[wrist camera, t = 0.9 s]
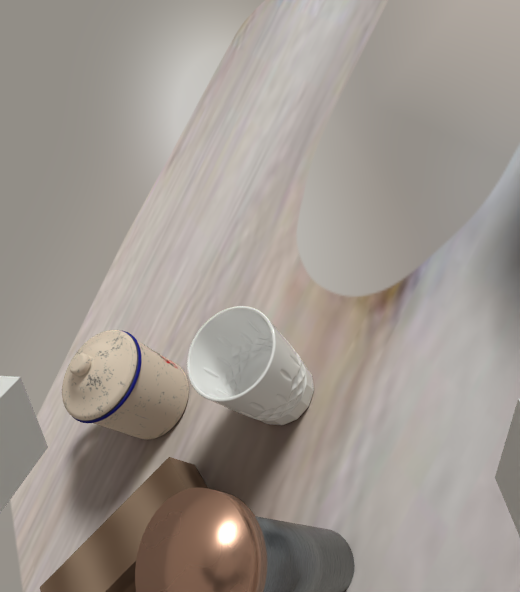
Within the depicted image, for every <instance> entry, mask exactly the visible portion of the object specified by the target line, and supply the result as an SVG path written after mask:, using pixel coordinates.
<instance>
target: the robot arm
mask: <svg viewBox="0 0 520 592" xmlns="http://www.w3.org/2000/svg"><path fill="white" fill-rule="evenodd" d="M47 448H48V446H47V443H46V441H45V438H44V436H43V433H42V430H41V428H40V425H39V423H38V420H37V418H36V415H35V413H34V410H33V407H32V405H31V402H30V400H29V397H28V395H27V392H26V389H25V387H24V384H23V382H22V379H21V377H13V376H0V513H1V511H2V510H3V509H4V507H5V506H6V505H7V503H8V502H9V500H10V499H11V498H12V496H13V495H14V493H15V492H16V491H17V489H18V488H19V487H20V485H21V484H22V482H23V481H24V480H25V478H26V477H27V475H28V474H29V473H30V471H31V470H32V468H33V467H34V466H35V464H36V463H37V462H38V460H39V459H40V457H41V456H42V455H43V453H44V452H45V450H46V449H47ZM495 479H496V481H497V483H498V486H499V488H500V491H501V493H502V495H503V498H504V500H505V502H506V505H507V507H508V510H509V512H510V514H511V517H512V519H513V522H514V524H515V526H516V529H517V531H518V534H519V536H520V399H518V402H517V405H516V409H515V412H514V415H513V419H512V422H511V425H510V429H509V432H508V436H507V439H506V442H505V446H504V449H503V452H502V456H501V459H500V463H499V466H498V469H497V473H496V476H495Z"/></svg>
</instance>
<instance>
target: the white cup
mask: <svg viewBox="0 0 520 592" xmlns="http://www.w3.org/2000/svg"><path fill="white" fill-rule="evenodd" d="M187 372H188V377H189V380H190V382H191V384H192V386H193V388H194V389H195V390H196V391H197V392H198V393H199V394H200V395H201V396H203V397H204V398H206V399H209V400H211V401H213V402H215V403H218V404H220V405H222V406H224V407H227V408H229V409H231V410H233V411H235V412H238V413H240V414H243V415H246V416H248V417H250V418H253V419H257V420H260V421H262V422H264V423H266V424H272V425H285V424H287V423H289V422H292V421H294V420H296V419H298V418H299V417H300V416H301V414H302V413H303V412H304V411H305V410H306V409H307V408H308V407H309V404H310V401H311V398H312V395H313V392H314V387H313V378H312V374H311V373H310V371H309V369H308V368H307V366H306V365H305V363H304V362H303V361H302V360H301V358H300V356H299V355H298V354H297V352H296V351H295V350H294V349H293V347H292V346H291V345H290V344H289V342H288V341H287V340H286V339H285V338H284V336H283V335H282V334H281V333H280V332H279V331H278V330H277V328H276V327H275V326H274V325H273V324H272V323H271V321H270V320H269V319H268V318H267V317H266V316H265V315H264V314H263V313H262V312H260V311H259V310H257V309H254V308H251V307H247V306H237V307H231V308H228V309H225V310H223V311H221V312H219V313H217V314H216V315H214V316H213V317H211V318H210V319H209V320H208V321H207V322H206V323H205V324H204V325H203V326H202V327H201V328H200V330H199V331H198V332H197V334H196V335H195V337H194V339H193V341H192V343H191V346H190V349H189V353H188V358H187Z"/></svg>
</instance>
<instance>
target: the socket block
mask: <svg viewBox="0 0 520 592" xmlns="http://www.w3.org/2000/svg"><path fill="white" fill-rule="evenodd" d="M190 488H207V486H206V484H205V482H204V481H203V479H202V477H201V475H200V474H199V472H198V470H197V469H196V467H195V465H193V464H190V463H187V462H184V461H180V460H177V459H174V458H171V457H169V458H168V459H167V460H166V461H165V462H164V463H163V464H162V465H161V466H160V467H159V468H158V469H157V470H156V471H155V472H154V473H153V474H152V475H151V476H150V477H149V478H148V479H147V480H146V481H145V482H144V483H143V484H142V485H141V486H140V487H139V488H138V489H137V490H136V491H135V492H134V493H133V494H132V495H131V496H130V497H129V498H128V499H127V500H126V501H125V502H124V503H123V504H122V505H121V506H120V507H119V508H118V509H117V510H116V511H115V512H114V513H113V514H112V515H111V516H110V517H109V518H108V519H107V520H106V521H105V522H104V523H103V524H102V525H101V526H100V527H99V528H98V529H97V530H96V531H95V532H94V533H93V534H92V535H91V536H90V537H89V538H88V539H87V540H86V541H85V542H84V543H83V544H82V545H81V546H80V547H79V548H78V549H77V550H76V551H75V552H74V553H73V554H72V555H71V556H70V557H69V558H68V559H67V561H66V562H65V563H64V564H63V565H62V566H61V567H60V568H59V569H58V570H57V571H56V572H55V573H54V574H53V575H52V576H51V577H50V578H49V579H48V580H47V581H46V582H45V583H44V584H43V585H42V586H41V587H40V590H41V592H136V586H135V568H136V559H137V553H138V549H139V545H140V542H141V539H142V536H143V534H144V532H145V529H146V527H147V525H148V523H149V522H150V520H151V518H152V517H153V515H154V514H155V512H156V511H157V510H158V509H159V508H160V507H161V505H162V504H163V503H164V502H166V501H167V500H168V499H169V498H171V497H172V496H173V495H175V494H177V493H179V492H181V491H183V490H186V489H190Z"/></svg>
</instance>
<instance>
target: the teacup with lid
mask: <svg viewBox="0 0 520 592" xmlns="http://www.w3.org/2000/svg"><path fill="white" fill-rule="evenodd" d="M188 395H189V385H188V380H187V377H186V374H185V373H184V371H183V370H182V368H181V367H179V366H178V365H177V364H175V363H174V362H172V361H170V360H168V359H167V358H165V357H163V356H162V355H160V354H158V353H157V352H155V351H153V350H152V349H150V348H148V347H146V346H145V345H143V344H141V343H140V342H138V341H137V340H136V339H135V338H134V337H133V336H132V335H131V334H129V333H128V332H125V331H120V330H109V331H105V332H102V333H100V334H97V335H96V336H94V337H92V338H91V339H90V340H88V341H87V342H86V343H85V344H84V345H83V346H82V347H81V348H80V349H79V350H78V352H77V353H76V354H75V356H74V357H73V359H72V360H71V362H70V364H69V366H68V368H67V371H66V373H65V376H64V380H63V386H62V397H63V402H64V405H65V408H66V409H67V411H68V412H69V414H70V415H71V416H72V417H73V418H74V419H76V420H77V421H80V422H83V423H95V424H98V425H101V426H104V427H107V428H110V429H113V430H116V431H119V432H122V433H125V434H128V435H131V436H134V437H137V438H140V439H154V438H157V437H160V436H162V435H164V434H165V433H167V432H168V431H169V430H170V429H171V428H172V427H173V426H174V425H175V424H176V423H177V422H178V420H179V419H180V417H181V416H182V414H183V412H184V410H185V407H186V404H187V401H188Z"/></svg>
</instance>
